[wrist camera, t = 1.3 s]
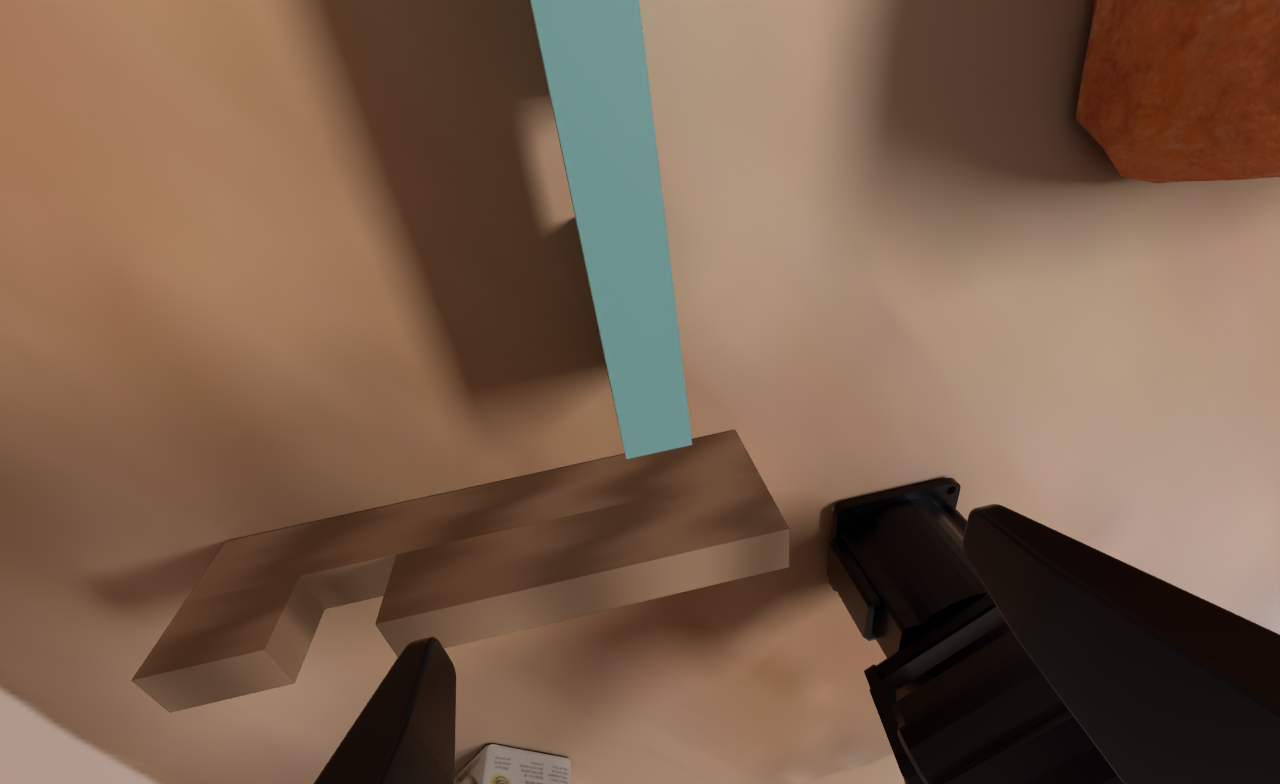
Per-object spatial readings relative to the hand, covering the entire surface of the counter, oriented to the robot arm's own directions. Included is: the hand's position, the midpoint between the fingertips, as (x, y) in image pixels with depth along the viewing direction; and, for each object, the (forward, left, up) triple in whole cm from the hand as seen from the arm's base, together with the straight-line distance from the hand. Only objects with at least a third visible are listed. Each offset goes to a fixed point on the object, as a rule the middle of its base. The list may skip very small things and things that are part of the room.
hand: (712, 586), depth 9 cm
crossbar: (0, -5, -13) cm, 14 cm away
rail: (+7, +8, -13) cm, 16 cm away
